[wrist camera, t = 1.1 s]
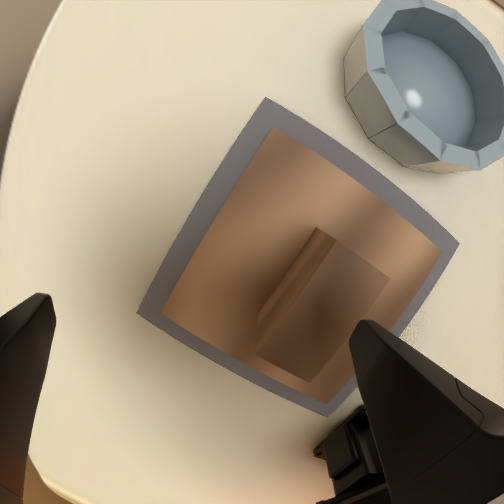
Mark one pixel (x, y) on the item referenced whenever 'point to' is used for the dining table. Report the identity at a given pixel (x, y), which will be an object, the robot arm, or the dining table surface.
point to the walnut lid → (299, 269)
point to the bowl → (427, 87)
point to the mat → (217, 196)
